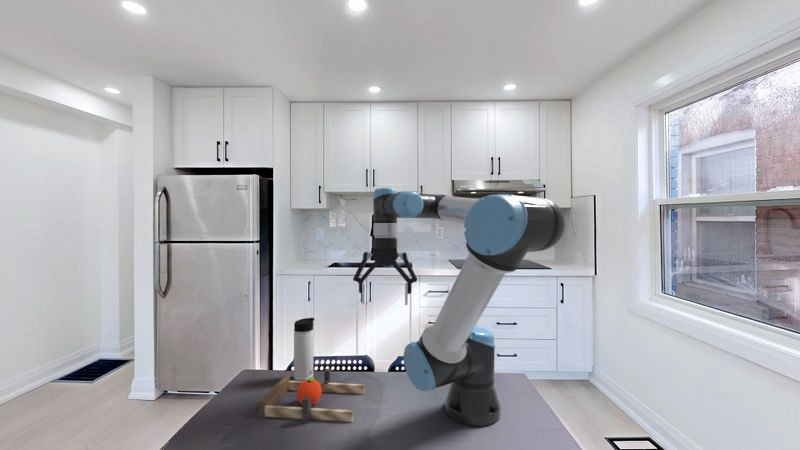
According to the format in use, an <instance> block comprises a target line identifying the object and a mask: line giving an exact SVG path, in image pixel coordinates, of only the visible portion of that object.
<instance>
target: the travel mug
mask: <svg viewBox="0 0 800 450" xmlns="http://www.w3.org/2000/svg"><path fill="white" fill-rule="evenodd" d="M314 321H315V318H314V317H307V318H300V319H297V320H295V321H294V323H293V324H294V325H293V326H294V328H293V331H294V332H293V381H305V380H307V379H310V378H314Z"/></svg>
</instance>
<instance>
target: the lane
mask: <svg viewBox="0 0 800 450" xmlns="http://www.w3.org/2000/svg"><path fill="white" fill-rule="evenodd" d="M323 375H324V378H323V379H324V381H323V382H322V381H318V383H319V384H320V386H321V389H322V393H333V392H337V393H338V394H352V393H355V394H356V395H365V391H366V390H365V389H366V385H365V384H364V383H359V384H358V383H345V382H344V383H342V382H341V383H340V382H332V369H331V368H325V370H324V374H323ZM290 377H291V376H290V375H284V376H283V377H282V378H281V379H280V380H279V381H278V382H277V383H276V384H275V385H274V386H273V387H272V388H271V389H270V390H269V391H268V392H267V393H266V394H265V395H264V396H263V397H262V398H261V399H260V400H259V410H258V411H259V415H258V416H259V417H268V418H269V417H270V418H285V419H286V418H287V419H296V420H297V419H300V420H301V421H302V424H309V422H310V421H311V420H315V421H316V420H317V421H331V422H345V423H346V422H347V423H353V421H354V410H353V409H352V410H351V409H336V408H335V409H334V408H321V407H319V408H318V407H312V405H310V398H311V397H304V398H303V400H302V404H301V405H302V407H301V406H287V405H286V406H285V405H277V403H278V402H279V401H280V400H281V399H282V398H283V397H284V395H286V393H287V392H288V391H297V390H298V387H299V385H300V384H301V383H302V382H303V381H294V380H291V378H290ZM355 394H354V395H355Z"/></svg>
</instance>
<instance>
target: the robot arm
mask: <svg viewBox="0 0 800 450" xmlns="http://www.w3.org/2000/svg"><path fill="white" fill-rule="evenodd" d="M372 203H373V208H372V209H373V211H372V212H373V228H372V229H373V232H372V233H373V245H372V246H373V251H372V252H368V251H365V252H363V255H362V260H361V263H360V264H359V265H358V268H357V269H356V272H355V274H354V276H353V277H352V281H354V282H356V283H358V293H359V294H361V304H362V305H365V304H366V303H367V282H365V280H366V279H367V278H368V276H370V274H371V273H372V272H373V271H374V270H375V268H377V266H379V267H392V266H393V268H394V269H395V270H396V271H397V272H398V273H399V275H400V276H401V277H402V278H403V280H404V281H405V283H404V306H408V304H409V295H411V293H412V285H413V283H416V282H417V281H418V278H417V275H416V273H415V272H414V269H413V267H412V265H411V264H410V261H409V259H408V254H407V252H406V251H403V252H398V238H397V236H398V219H433V220H434V219H435V220H441V221H447V222H450V223H451V222H452V223H456V224H461V225H463V226H464V228H465V231H464V232H463V233H464V234H463V235H464V239H465V240H466V243H465V248H466V251H467V252H468V254H467V257H466V259H465V261H464V262H463V265H462V266H461V269H460V271H459V273H458V275H457V276H456V279H455V281H454V283H453V285H452V287H451V289H450V290H449V293H448V294H447V297H446V298H445V301H444V303H443V305H442V307H441V309H440V311H439V313H438V315H437V317H436V319H435V321H434V323H433V324H429V325H427V326H426V327H425V329H424V330H423V332H422V333H421V336H420V338H419V339H418V340H417V341H411V342H410V343H408V344H407V345H405V347H404V351H403V363H404V370H405V371H406V374H407V376H408V379H409V380H410V381H409V382H410V383H411V384H412V386H414V388H416V389H417V390H419V391H421V392H427V391H434V390H436V389H438V388H441V387H444V386H447V385H449V387H448V391H447V394H446V396H445V400H444V403H445V404H444V405H445V406H444V410H445V412H446V415H448V416H449V417H450V418H451V419H453V420H454V421H456V422H458V423H460V424H462V425H463V424H464V425H467V426H474V427H476V426H477V427H482V426H490V425H492V424H496V422H498V421H499V420H500V418H501V416H502V415H501V414H502V409H501V408H502V406H501V402H500V400H499V397H498V393H497V392H498V391H496V387H495V351H496V350H495V348H496V345H495V338H494V337H495V336H494V334H493V332H492V331H491V330H488V329H487V328H484V327H481V326H477V324H478V322H479V320H480V318H481V317H482V315H483V313H484V312H485V310H486V308H487V306H488V304H489V303H490V301H491V299H492V297H493V295H494V294H495V293H496V290H497V289H498V287H499V285H500V284H501V282H502V280H503V279H504V277H505V275H506V274H508V273H514V272H515V271H517V269H518V268H519V267H520V265H521V263H522V261H523V260H524V258H525V256H526V254H528V253H534V252H543V251H545V250H549V249H550V248H552V247H554V246H556V244H558V243H559V241H560V240H561V239H562V237H563V235H564V233H565V229H566V219H565V216H564V213H563V211H562V209H561V208H560V207H559V206H558V205H557V203H555V202H553V201H552V200H550V199H548V198H544V197H538V196H523V195H515V194H510V193H509V194H508V193H497V194H489V195H486V196H483V197H481V198H480V199H479V198H472V197H471V198H470V197H462V196H461V197H460V196H454V195H452V196H451V195H447V194H433V193H418V192H416V191H409V190H405V191H401V192H398V190H397V189H396V188H394V187H379V188H376V189H375V190H374V191H373V200H372ZM371 258H372V259H373V260H374V262H373V263H372V264H371V265H370V267H369V268H367V270H366V272H364V273H363V275H362V276H361V274H362V272H363V270H364V268H365V266H366V264H367V263H368V260H369V259H371ZM398 258H400V259H401V260H402V261H403V264H404V265H405V267H406V269H407V272H408V274H409V275H410V277H409V275H408V274H407V273H406V271H404V269H403V268H402V267H401V266H400V264H399V263H398V262H397V260H398Z"/></svg>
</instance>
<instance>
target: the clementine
mask: <svg viewBox="0 0 800 450" xmlns="http://www.w3.org/2000/svg"><path fill="white" fill-rule="evenodd" d="M318 382H319V381H318V378H317V377H313V378H310V379H307V380H305V381H303V382H302V383H301V384H300V385H299V387H298V390H296V396H297V397H296V398H297V400H298V402H299V403H300V404H301V405H302V400H303V398H304V397H311V398H310V406H313V405H315V404H317V403H318V401H319V400H320V398H321V396H322V393H323V392H322V389H321V386H320V384H319V383H318Z"/></svg>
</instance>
